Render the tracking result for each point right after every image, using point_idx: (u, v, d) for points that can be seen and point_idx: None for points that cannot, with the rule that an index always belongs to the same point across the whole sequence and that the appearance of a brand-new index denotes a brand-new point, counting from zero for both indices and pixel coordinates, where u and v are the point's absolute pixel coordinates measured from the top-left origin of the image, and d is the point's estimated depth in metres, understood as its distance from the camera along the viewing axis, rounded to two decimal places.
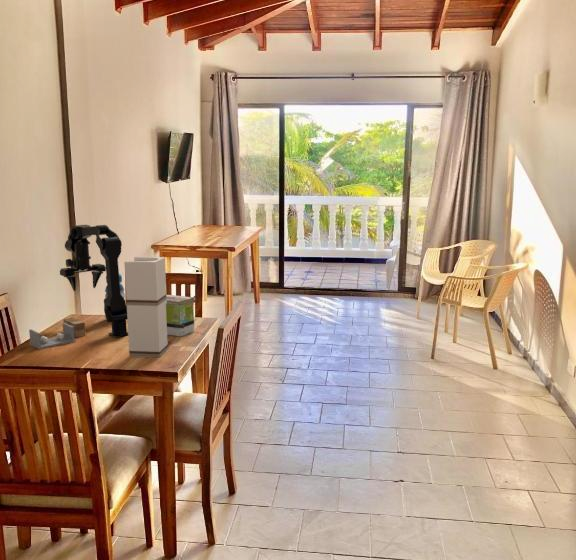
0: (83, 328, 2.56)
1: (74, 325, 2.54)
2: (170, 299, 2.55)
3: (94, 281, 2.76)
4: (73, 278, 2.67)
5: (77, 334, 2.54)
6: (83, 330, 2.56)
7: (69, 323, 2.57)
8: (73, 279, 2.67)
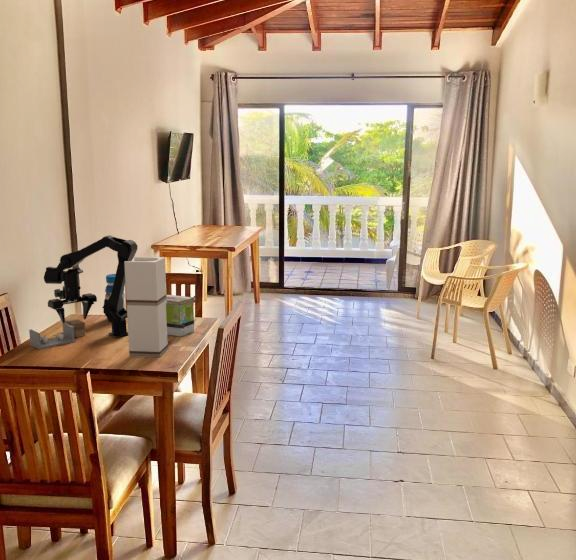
0: (83, 328, 2.56)
1: (74, 325, 2.54)
2: (170, 299, 2.55)
3: (84, 312, 2.60)
4: (62, 310, 2.51)
5: (77, 334, 2.54)
6: (83, 330, 2.56)
7: (69, 323, 2.57)
8: (62, 311, 2.51)
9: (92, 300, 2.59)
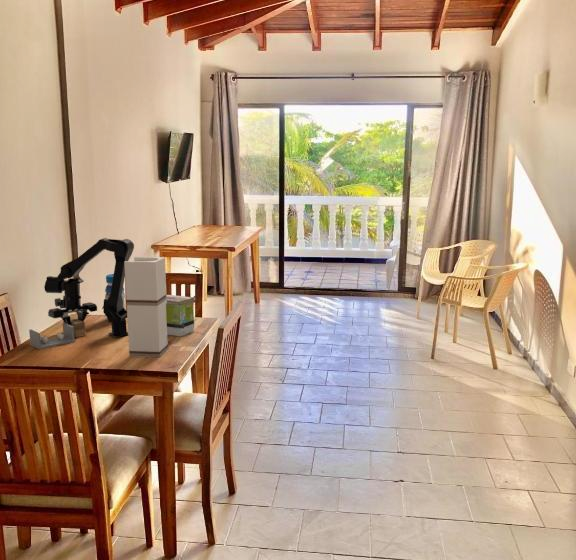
0: (83, 328, 2.56)
1: (74, 325, 2.54)
2: (170, 299, 2.55)
3: None
4: (68, 318, 2.54)
5: (77, 334, 2.54)
6: (83, 330, 2.56)
7: None
8: (68, 319, 2.54)
9: (92, 309, 2.60)
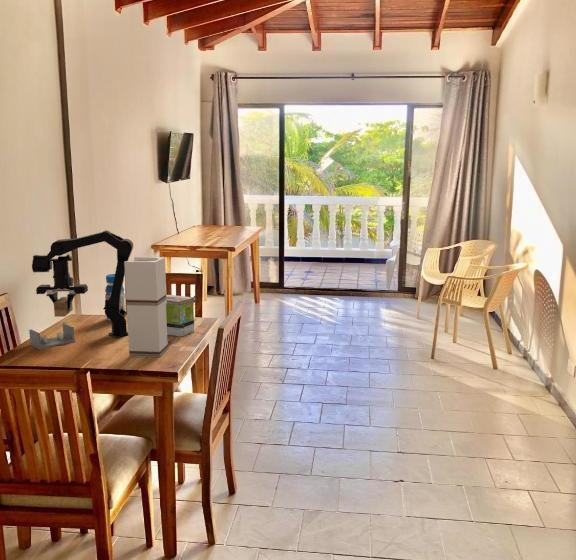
0: (62, 308, 2.46)
1: None
2: (170, 299, 2.55)
3: None
4: (51, 296, 2.48)
5: (55, 314, 2.46)
6: (62, 310, 2.46)
7: None
8: (51, 298, 2.48)
9: (78, 291, 2.48)
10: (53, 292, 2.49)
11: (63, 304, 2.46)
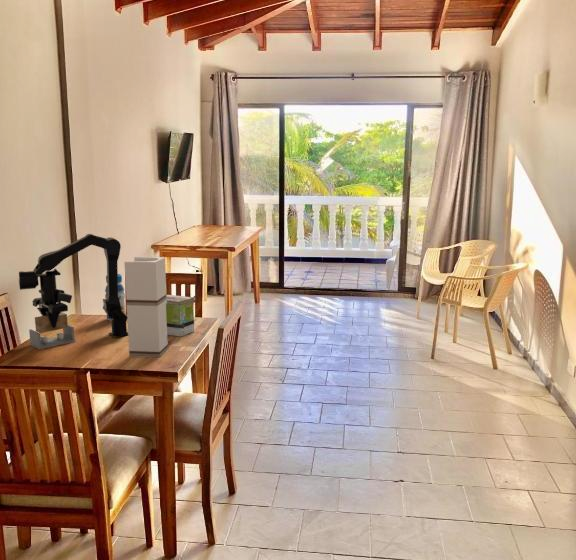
0: (38, 325, 2.40)
1: None
2: (170, 299, 2.55)
3: None
4: (39, 310, 2.44)
5: (36, 328, 2.42)
6: (38, 327, 2.40)
7: None
8: (40, 312, 2.44)
9: (50, 310, 2.36)
10: (43, 306, 2.44)
11: (38, 320, 2.39)
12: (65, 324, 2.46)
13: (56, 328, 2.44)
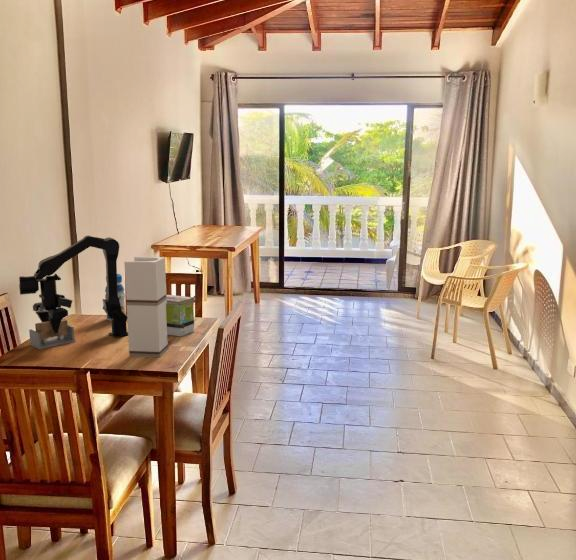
0: (39, 331, 2.40)
1: None
2: (170, 299, 2.55)
3: None
4: (38, 314, 2.46)
5: None
6: None
7: None
8: (38, 316, 2.46)
9: (50, 315, 2.36)
10: (41, 310, 2.46)
11: (39, 327, 2.39)
12: (65, 330, 2.47)
13: (56, 334, 2.44)
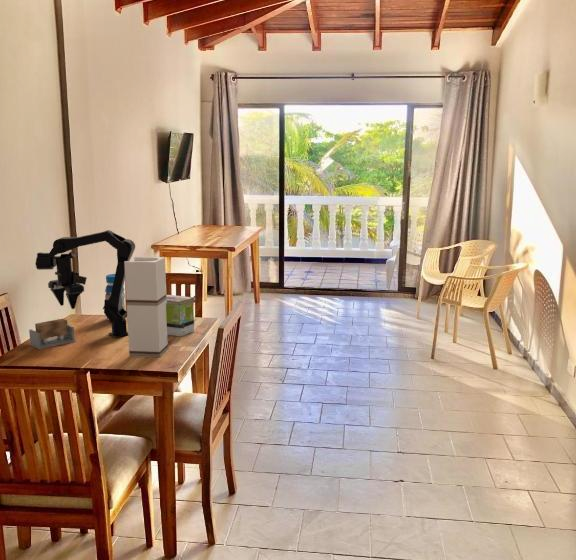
0: (39, 331, 2.40)
1: None
2: (170, 299, 2.55)
3: None
4: (52, 291, 2.55)
5: None
6: None
7: None
8: (53, 292, 2.55)
9: (67, 291, 2.46)
10: (56, 287, 2.55)
11: (39, 327, 2.39)
12: (65, 330, 2.47)
13: (56, 334, 2.44)
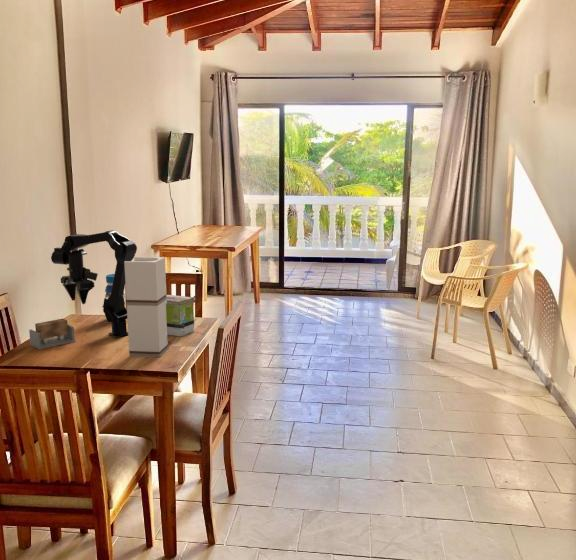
0: (39, 331, 2.40)
1: None
2: (170, 299, 2.55)
3: None
4: (64, 286, 2.63)
5: None
6: None
7: None
8: (65, 287, 2.63)
9: (78, 286, 2.53)
10: (68, 283, 2.63)
11: (39, 327, 2.39)
12: (65, 330, 2.47)
13: (56, 334, 2.44)
